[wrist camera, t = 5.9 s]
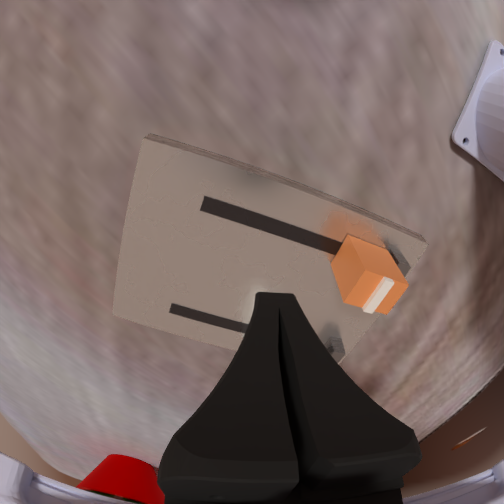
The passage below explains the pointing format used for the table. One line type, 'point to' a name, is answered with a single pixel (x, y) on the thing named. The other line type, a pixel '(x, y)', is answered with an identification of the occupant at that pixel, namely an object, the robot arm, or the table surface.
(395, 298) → the fader orange
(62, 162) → the table surface
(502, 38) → the table surface
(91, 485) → the potted flower
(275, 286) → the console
